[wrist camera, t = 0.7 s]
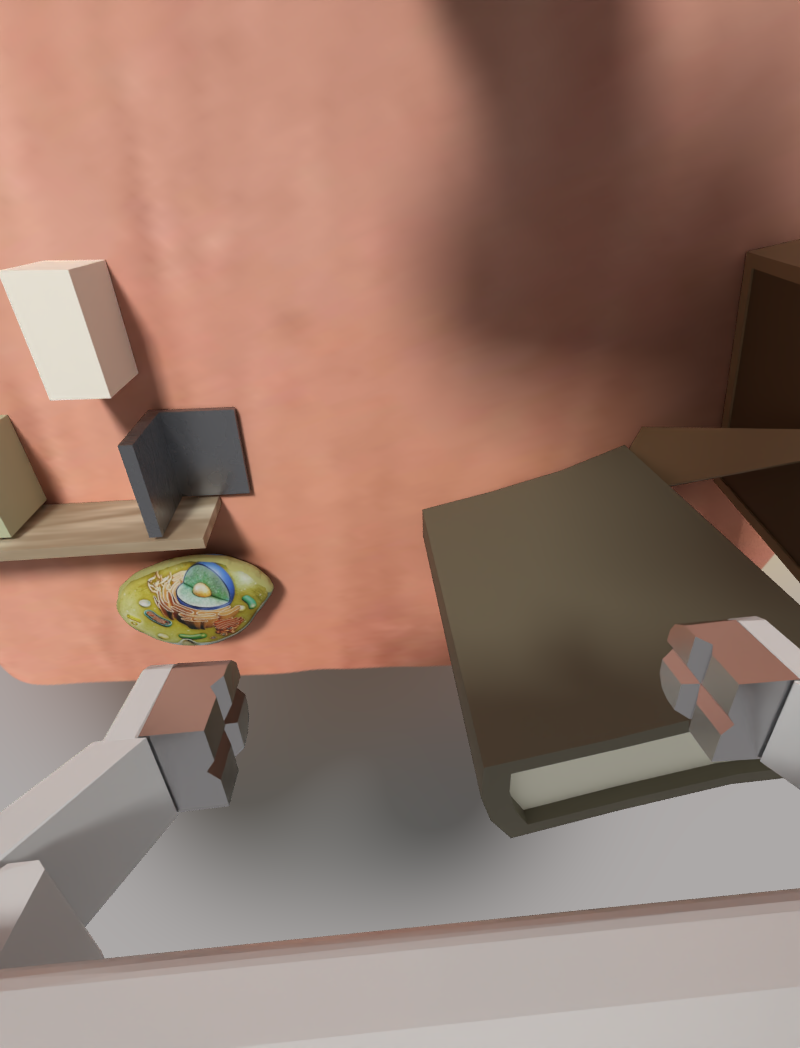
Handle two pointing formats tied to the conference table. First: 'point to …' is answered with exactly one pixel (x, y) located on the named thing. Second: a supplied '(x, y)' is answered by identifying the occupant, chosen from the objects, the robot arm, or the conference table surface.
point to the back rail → (108, 530)
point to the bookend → (182, 460)
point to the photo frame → (751, 411)
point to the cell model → (194, 598)
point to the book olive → (16, 482)
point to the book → (585, 637)
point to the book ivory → (72, 327)
